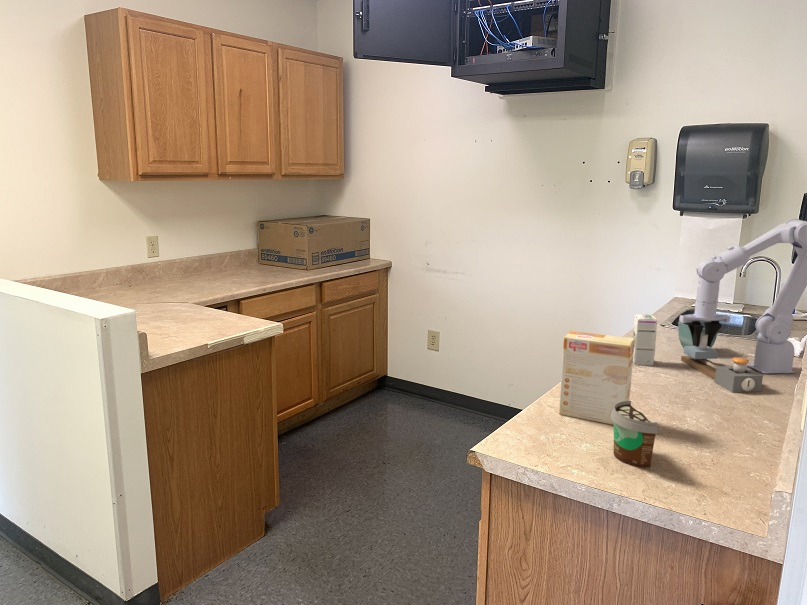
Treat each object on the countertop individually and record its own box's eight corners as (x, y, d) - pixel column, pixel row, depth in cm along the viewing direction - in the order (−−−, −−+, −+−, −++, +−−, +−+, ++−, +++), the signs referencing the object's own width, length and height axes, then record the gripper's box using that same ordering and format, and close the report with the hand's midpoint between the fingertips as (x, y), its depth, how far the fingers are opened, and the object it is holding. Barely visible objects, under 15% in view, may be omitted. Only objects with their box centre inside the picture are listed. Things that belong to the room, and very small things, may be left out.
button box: (741, 381, 168) (743, 365, 167) (761, 392, 160) (764, 376, 159) (714, 381, 167) (716, 366, 166) (733, 392, 159) (735, 376, 158)
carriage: (705, 352, 184) (707, 331, 182) (717, 358, 178) (719, 337, 177) (683, 353, 183) (685, 332, 182) (694, 359, 177) (697, 337, 176)
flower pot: (716, 354, 192) (720, 327, 190) (692, 356, 190) (696, 328, 188) (697, 346, 200) (700, 320, 199) (674, 348, 199) (677, 321, 197)
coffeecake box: (628, 416, 143) (635, 338, 139) (623, 427, 137) (631, 345, 133) (565, 404, 150) (570, 329, 146) (558, 414, 144) (563, 336, 140)
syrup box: (654, 366, 180) (658, 319, 177) (633, 364, 181) (637, 318, 178) (650, 360, 186) (655, 314, 183) (630, 359, 187) (634, 313, 184)
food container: (597, 444, 129) (601, 400, 127) (625, 443, 129) (629, 399, 127) (623, 472, 117) (627, 424, 115) (653, 471, 118) (658, 423, 115)
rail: (699, 360, 186) (700, 352, 186) (735, 380, 169) (737, 371, 168) (680, 360, 186) (681, 352, 185) (715, 380, 168) (716, 372, 168)
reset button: (741, 369, 165) (742, 357, 164) (750, 374, 161) (751, 361, 160) (727, 370, 164) (729, 357, 164) (736, 374, 161) (738, 361, 160)
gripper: (721, 297, 181) (716, 341, 184) (675, 298, 180) (671, 342, 183) (736, 303, 175) (730, 348, 178) (688, 303, 173) (683, 349, 176)
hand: (701, 345), depth 180 cm, fingers closed on carriage, 3 cm apart
